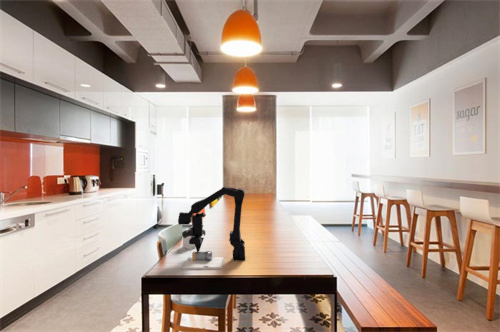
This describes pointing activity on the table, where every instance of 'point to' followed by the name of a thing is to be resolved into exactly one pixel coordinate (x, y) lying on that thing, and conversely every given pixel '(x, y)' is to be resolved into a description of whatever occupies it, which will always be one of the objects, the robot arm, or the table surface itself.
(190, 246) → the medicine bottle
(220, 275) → the table surface
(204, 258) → the lock lever
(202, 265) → the base
